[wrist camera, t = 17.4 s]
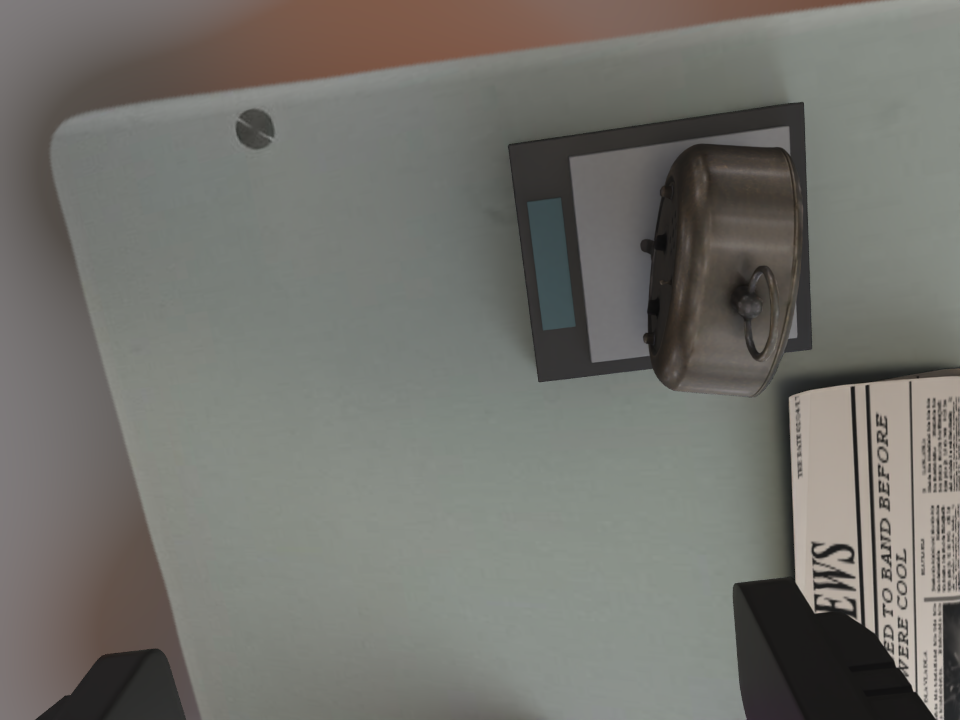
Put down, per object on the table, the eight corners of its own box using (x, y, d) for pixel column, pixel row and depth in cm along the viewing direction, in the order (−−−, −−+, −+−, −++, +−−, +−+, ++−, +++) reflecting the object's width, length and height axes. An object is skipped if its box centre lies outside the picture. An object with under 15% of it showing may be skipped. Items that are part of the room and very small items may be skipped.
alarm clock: (720, 353, 44) (828, 479, 28) (619, 347, 44) (672, 468, 29) (750, 143, 41) (889, 156, 25) (642, 137, 41) (714, 145, 26)
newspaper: (991, 833, 56) (1022, 879, 52) (805, 856, 57) (823, 903, 54) (962, 342, 46) (997, 359, 43) (741, 383, 48) (757, 402, 44)
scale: (537, 370, 48) (538, 387, 45) (508, 144, 45) (507, 145, 42) (798, 338, 47) (817, 353, 44) (789, 103, 43) (809, 101, 40)
